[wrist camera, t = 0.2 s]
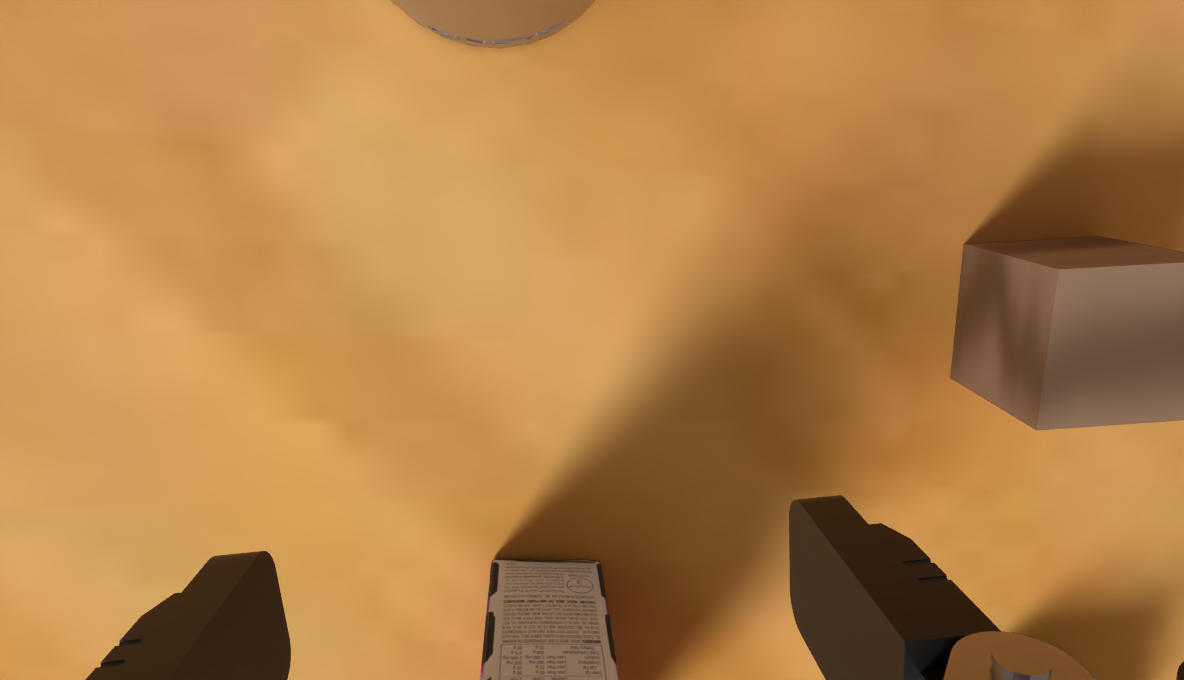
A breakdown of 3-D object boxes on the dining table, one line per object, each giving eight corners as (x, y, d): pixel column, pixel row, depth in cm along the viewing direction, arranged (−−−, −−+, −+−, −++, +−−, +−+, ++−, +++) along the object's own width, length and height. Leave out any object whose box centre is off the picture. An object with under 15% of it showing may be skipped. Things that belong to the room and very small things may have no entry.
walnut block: (962, 243, 28) (1058, 269, 23) (1098, 236, 29) (1224, 260, 24) (949, 377, 30) (1036, 430, 25) (1078, 369, 30) (1191, 419, 25)
